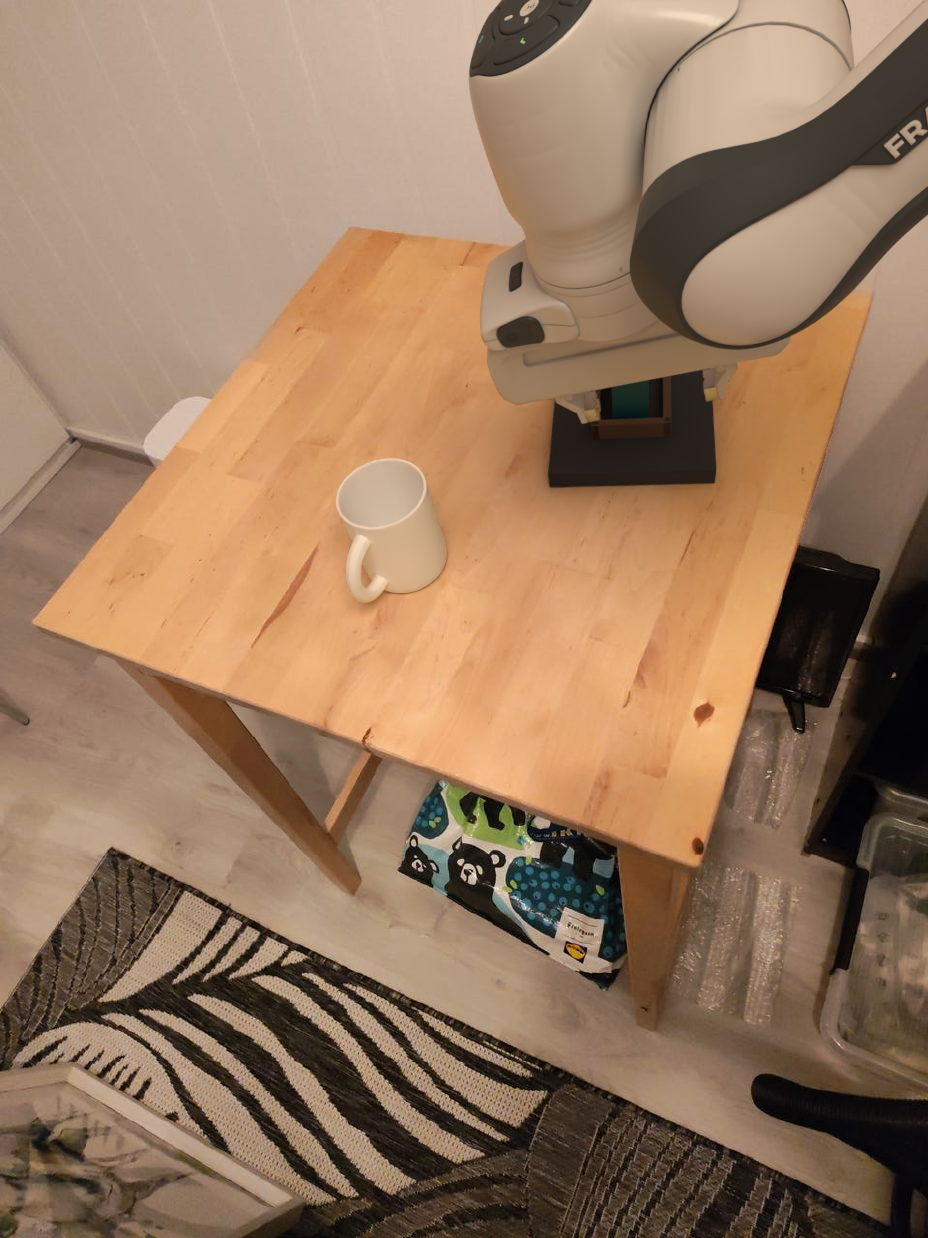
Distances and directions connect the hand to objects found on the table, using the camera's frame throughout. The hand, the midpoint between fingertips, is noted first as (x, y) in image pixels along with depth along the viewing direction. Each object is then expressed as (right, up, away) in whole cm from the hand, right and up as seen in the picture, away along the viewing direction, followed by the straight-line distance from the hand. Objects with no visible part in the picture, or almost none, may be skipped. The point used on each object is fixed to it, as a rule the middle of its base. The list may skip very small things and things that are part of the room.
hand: (652, 404), depth 62 cm
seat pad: (+3, +5, +23) cm, 24 cm away
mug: (-21, -12, +17) cm, 30 cm away
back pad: (+3, +6, +22) cm, 23 cm away
